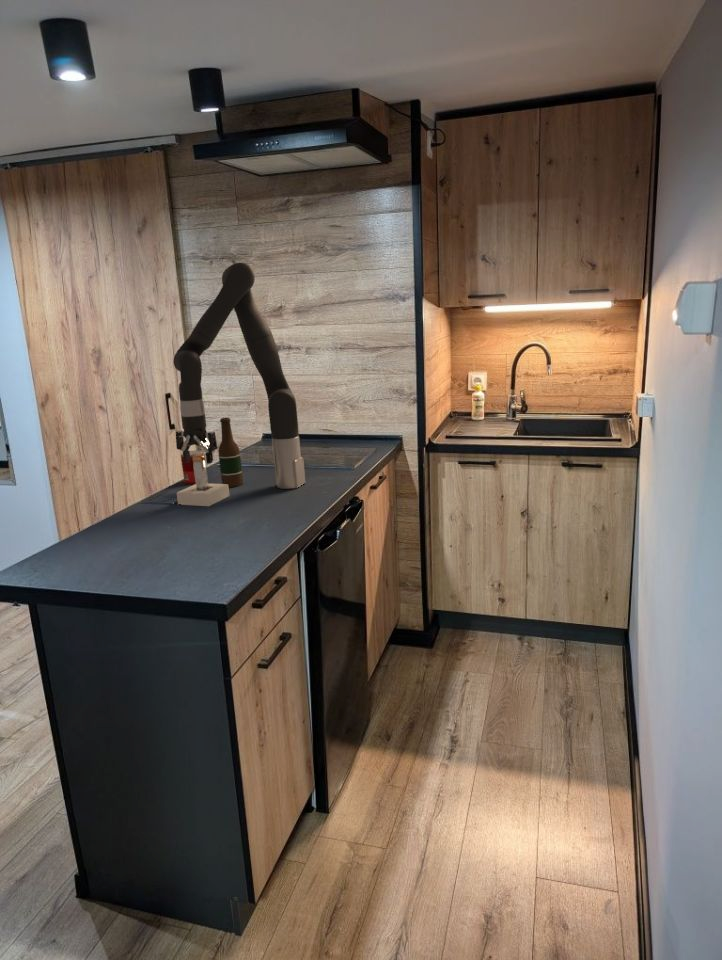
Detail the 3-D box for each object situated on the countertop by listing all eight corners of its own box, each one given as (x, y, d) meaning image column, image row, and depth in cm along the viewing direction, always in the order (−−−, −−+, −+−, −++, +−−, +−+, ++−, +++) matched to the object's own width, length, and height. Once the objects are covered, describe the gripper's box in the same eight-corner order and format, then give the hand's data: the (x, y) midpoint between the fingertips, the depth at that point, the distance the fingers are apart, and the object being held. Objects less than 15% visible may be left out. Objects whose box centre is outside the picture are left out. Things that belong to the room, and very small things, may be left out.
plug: (212, 498, 224) (207, 454, 221) (205, 502, 221) (199, 457, 217) (202, 498, 226) (196, 454, 222) (195, 501, 222) (189, 457, 219)
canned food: (203, 483, 245) (199, 454, 242) (181, 485, 245) (177, 455, 243) (208, 478, 252) (204, 449, 250) (187, 479, 253) (183, 451, 250)
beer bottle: (246, 481, 244) (238, 415, 238) (240, 487, 236) (232, 419, 230) (225, 482, 245) (217, 416, 239) (219, 488, 237) (210, 420, 231)
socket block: (229, 495, 226) (228, 484, 225) (208, 506, 216) (207, 494, 215) (199, 494, 231) (198, 482, 230) (178, 504, 220) (176, 492, 219)
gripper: (218, 412, 217) (223, 461, 221) (181, 411, 222) (187, 459, 226) (204, 416, 210) (210, 466, 214) (167, 415, 216) (173, 464, 220)
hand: (198, 462), depth 220 cm, fingers open, 8 cm apart
